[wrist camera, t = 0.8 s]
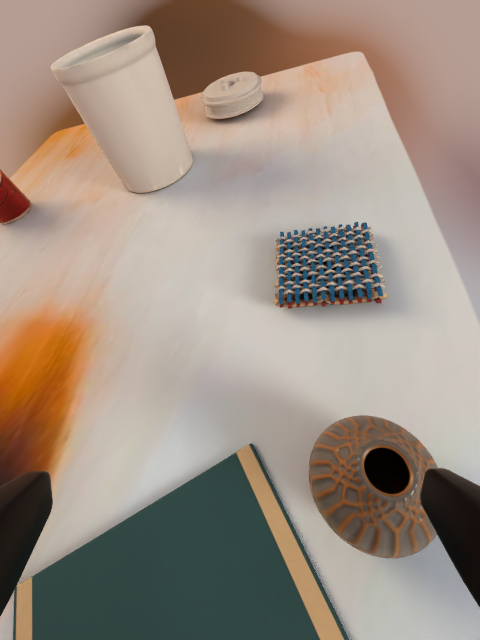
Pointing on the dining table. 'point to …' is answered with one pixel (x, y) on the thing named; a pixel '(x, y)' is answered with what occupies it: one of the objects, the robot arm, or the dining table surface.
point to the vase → (372, 485)
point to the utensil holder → (128, 107)
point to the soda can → (11, 201)
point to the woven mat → (328, 267)
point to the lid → (232, 95)
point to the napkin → (187, 571)
